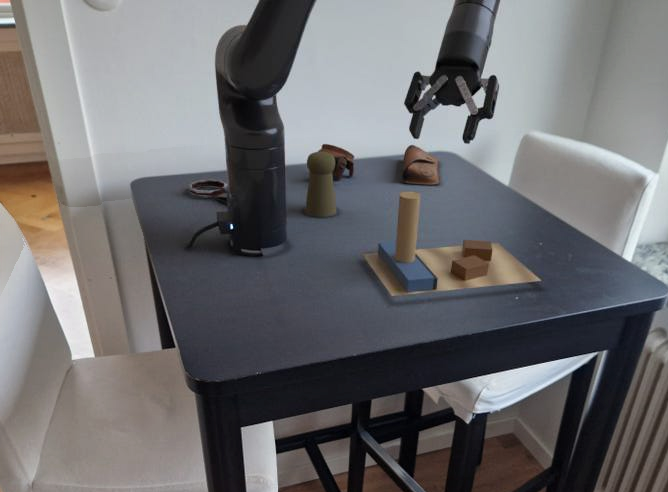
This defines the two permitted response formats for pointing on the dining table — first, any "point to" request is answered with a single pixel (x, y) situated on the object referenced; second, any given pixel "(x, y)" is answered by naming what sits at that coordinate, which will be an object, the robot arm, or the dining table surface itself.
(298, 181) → the dining table surface
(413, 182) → the sunglasses case
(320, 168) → the olive game pawn
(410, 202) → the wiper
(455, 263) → the block
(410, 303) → the dining table surface
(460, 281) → the cutting board
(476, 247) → the block
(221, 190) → the keychain
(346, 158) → the brown piece
